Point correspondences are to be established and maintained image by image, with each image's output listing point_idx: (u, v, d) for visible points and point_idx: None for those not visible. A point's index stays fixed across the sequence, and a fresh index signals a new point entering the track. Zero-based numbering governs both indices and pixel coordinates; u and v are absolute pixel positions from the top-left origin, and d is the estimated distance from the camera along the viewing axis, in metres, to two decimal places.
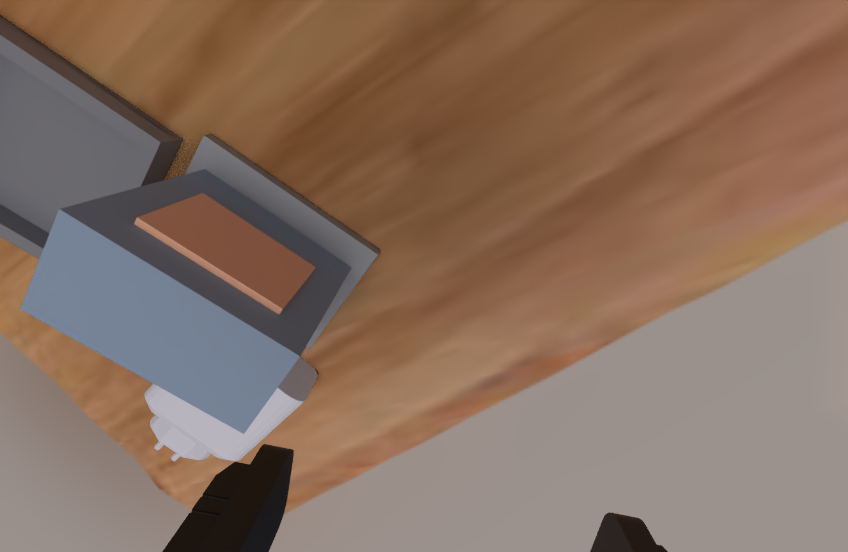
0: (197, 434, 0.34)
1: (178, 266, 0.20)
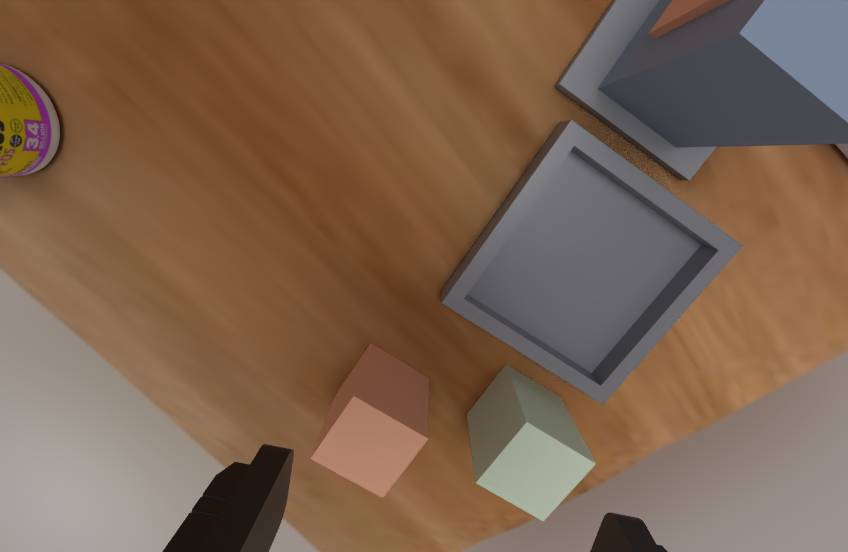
0: None
1: None
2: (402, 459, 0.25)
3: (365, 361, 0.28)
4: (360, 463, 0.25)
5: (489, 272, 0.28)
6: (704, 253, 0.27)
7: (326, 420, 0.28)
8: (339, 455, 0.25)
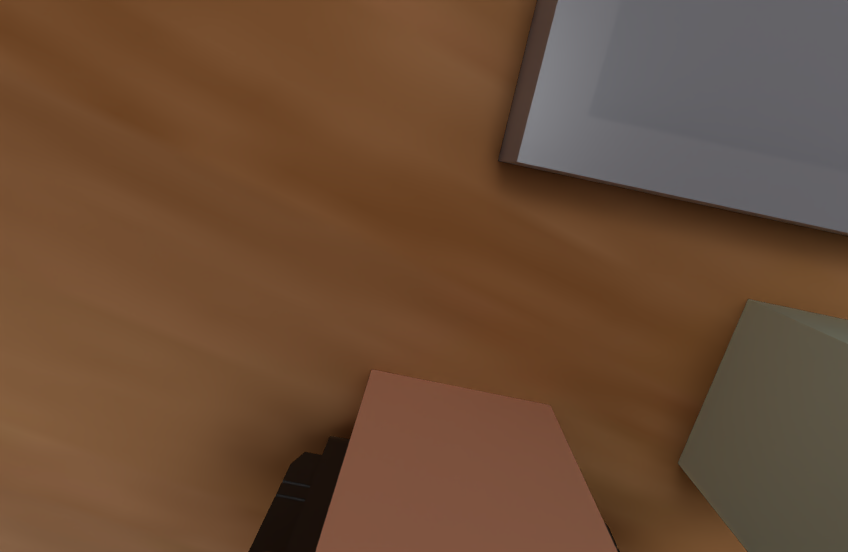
0: None
1: None
2: None
3: (355, 432, 0.09)
4: None
5: (628, 26, 0.09)
6: None
7: None
8: None
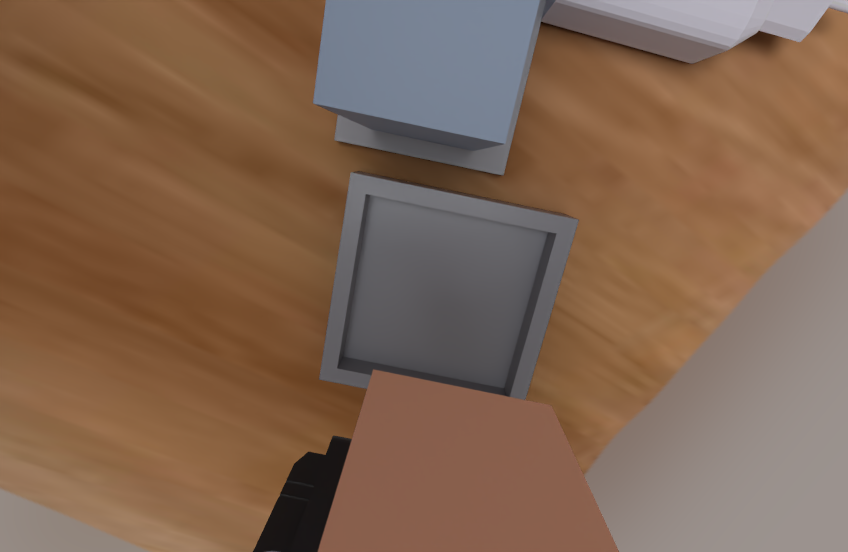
0: None
1: None
2: None
3: (356, 432, 0.09)
4: None
5: (359, 331, 0.28)
6: (550, 238, 0.25)
7: None
8: None
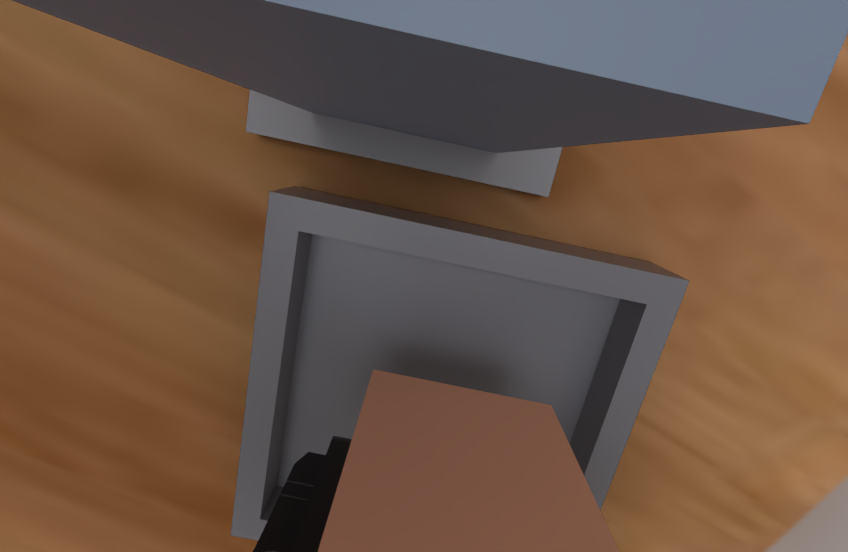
0: None
1: None
2: None
3: (356, 432, 0.09)
4: None
5: (301, 448, 0.17)
6: (629, 309, 0.14)
7: None
8: None
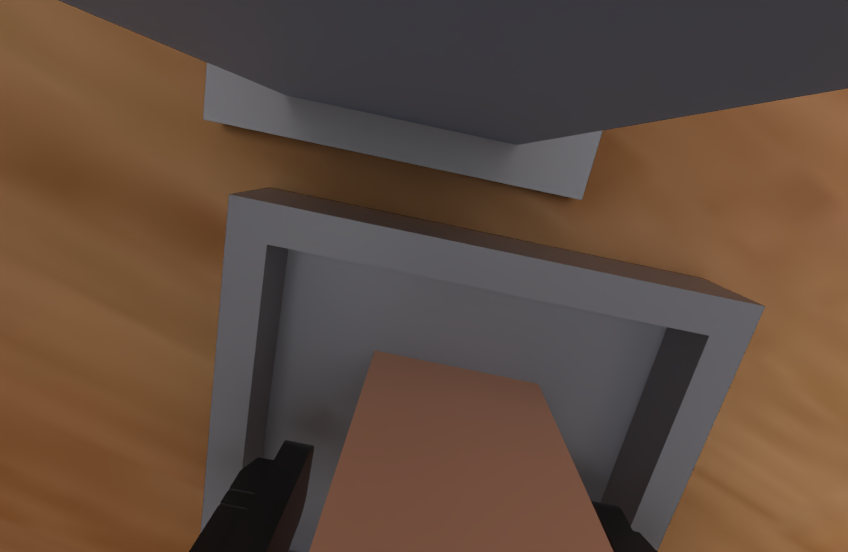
0: None
1: None
2: None
3: (360, 402, 0.10)
4: None
5: None
6: (683, 339, 0.12)
7: None
8: None
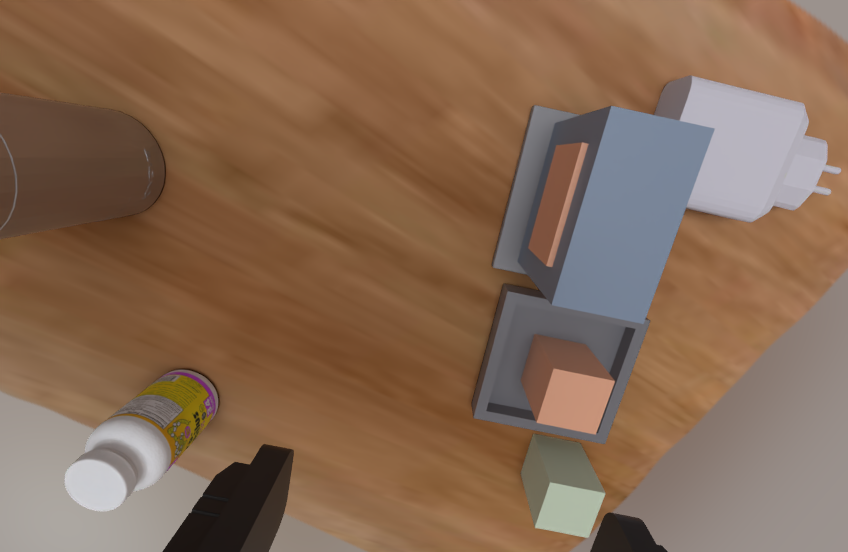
0: (780, 156, 0.33)
1: (569, 225, 0.27)
2: (600, 402, 0.35)
3: (541, 346, 0.38)
4: (572, 414, 0.35)
5: (497, 385, 0.42)
6: (629, 329, 0.40)
7: (529, 397, 0.38)
8: (556, 413, 0.35)
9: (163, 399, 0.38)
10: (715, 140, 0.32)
